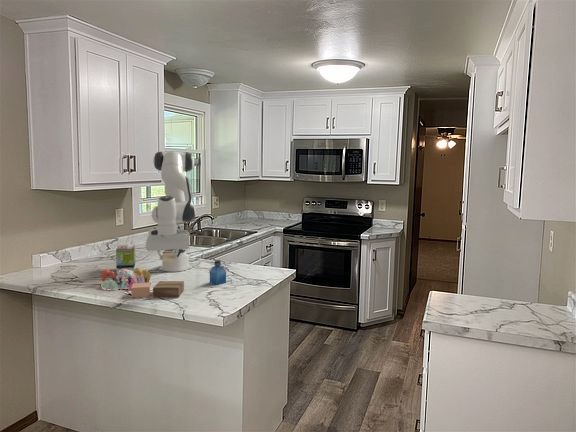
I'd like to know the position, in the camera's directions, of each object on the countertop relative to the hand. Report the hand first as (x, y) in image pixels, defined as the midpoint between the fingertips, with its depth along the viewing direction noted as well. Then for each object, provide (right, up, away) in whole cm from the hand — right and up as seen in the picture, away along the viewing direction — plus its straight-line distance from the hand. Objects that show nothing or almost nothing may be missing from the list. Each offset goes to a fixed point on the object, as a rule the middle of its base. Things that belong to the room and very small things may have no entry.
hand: (168, 258), depth 215 cm
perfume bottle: (+20, -15, +23) cm, 34 cm away
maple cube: (0, -2, 0) cm, 2 cm away
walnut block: (0, -18, +2) cm, 18 cm away
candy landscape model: (-27, -16, +17) cm, 35 cm away
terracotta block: (-13, -18, 0) cm, 22 cm away
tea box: (-37, -12, +47) cm, 61 cm away
